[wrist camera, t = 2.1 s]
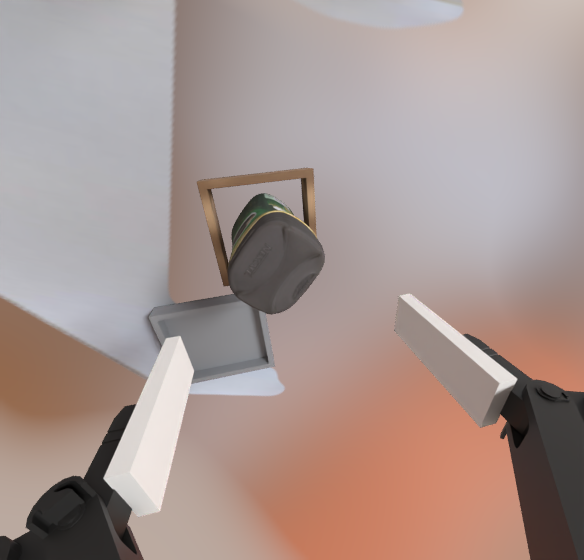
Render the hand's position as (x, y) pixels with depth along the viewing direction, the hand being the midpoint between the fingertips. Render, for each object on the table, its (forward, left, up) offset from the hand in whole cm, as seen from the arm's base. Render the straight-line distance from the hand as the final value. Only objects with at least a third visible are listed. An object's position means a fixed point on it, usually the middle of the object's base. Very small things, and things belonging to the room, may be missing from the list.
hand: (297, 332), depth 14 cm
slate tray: (+19, -11, -26) cm, 34 cm away
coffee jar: (0, 0, -26) cm, 26 cm away
